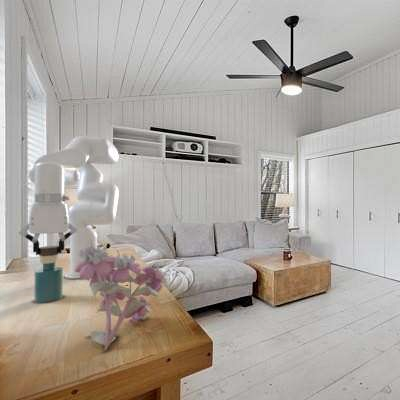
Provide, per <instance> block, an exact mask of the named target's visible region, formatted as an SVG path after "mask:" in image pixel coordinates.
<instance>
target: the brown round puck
mask: <svg viewBox="0 0 400 400" xmlns="http://www.w3.org/2000/svg"><path fill="white" fill-rule="evenodd" d="M56 254H58V255H59V254H60V253H59V245H47V246H39V255H38V256H39V257H40V256H47V255H56Z"/></svg>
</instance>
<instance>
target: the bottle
mask: <svg viewBox="0 0 400 400" xmlns="http://www.w3.org/2000/svg"><path fill="white" fill-rule="evenodd" d="M58 262H59V254H56V255H47V256H40V255H39V264H42V268H39V269H36V270H34V282H33V283H34V289H33V290H34V291H33V292H34V293H33V294H34V295H33V301H34V303H37V304H43V303H45V304H46V303H51V302H55V301H58V300H62V298H63V285H64V284H63V283H64V282H63V280H64V279H63V276H64V275H63V274H64V272H63V267H61V266H56V263H58Z"/></svg>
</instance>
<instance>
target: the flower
mask: <svg viewBox="0 0 400 400" xmlns="http://www.w3.org/2000/svg"><path fill="white" fill-rule="evenodd" d="M85 250H86V251H84V250H82V249H81V250H80V253H79V255H80V256H81V257H83V260H81V261H80V262H78V263H77V265H76V266H75V272H79V276H80V278H79V279H81V280H85V281H89V287H90V290H91V292H92V294H93V298H95V297H96V295H97V293H98V292H99V295H100V297H102V298H103V299H102V300H101V301H100V303H99V308H98V309H97V311H96V314H98V313H99V312H105V315H106V325H105V329H97V330H91V331H88V333H89V338H91V340H92V341H93V342H94V343H95V342H96V343H98V344H100V345H103V346H104V348H103V350H104V351H108V348H109V347H110V345H111V343H113V342H114V341H115V340H116V339H117V337H116V334H117V333H118V331H119V328H120V326H121V325H122V323H123V322H124V320H125V319H127V320H128V319H129V320H128V324H134V323H138V322H139V320H141V321H144V320H146V319H147V315H148V314H150V313H151V312H152V309H151V308H149V306H150V305H151V304H150V303H148V301H147V298H145V297H150V295H151V296H152V297H155V300H158V297H159V293H160V292H161V289H162V288H163V284H165V283H166V282H167V280H168V278H166V277H165V276H167V271H162V270H159V269H160V266H157V267H153V266H150V265H146V266H142V267H141V266H140V264H139V263H138V262H135V261H136V260H137V258H136V256H135V255H134V254H131V255H130V256H129V253H128V252H127V253H123V254H122V257H121V255H120V250H117V254H118V255H116V256H111V255H110V256H109V253H108V252H107V244H104V245H103V247H102V249H101V246H97V249H95V248H94V246H93V243H91V244H90V245H89V246H88V248H87V249H86V248H85ZM81 268H82V269H81ZM115 268H116V269H115ZM80 270H81V271H80ZM130 272H133V273H134V274H136V276H135V278H134V277H133V276H130ZM141 272H144V273H141ZM127 282H128V283H129V287H125V286H122V285H120V284H124V283H127ZM119 283H120V284H119ZM132 283H133V284H136V285H138V286H137V287H136V288H135V289H134V291H133V292H132ZM143 285H144V286H143ZM140 295H141V296H140ZM138 296H139V298H138V299H137V297H138ZM125 298H128V299H127V300H126V301H125V302H126V304H125V306H124V308H122V309H121V307H120V305H119V303H118V300H119V301H123V300H125ZM113 303H114V304H113ZM112 315H113V316H114V317H118V319H117V322H116V324H115V326H114V327H113V329H112Z"/></svg>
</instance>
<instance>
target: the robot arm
mask: <svg viewBox="0 0 400 400" xmlns="http://www.w3.org/2000/svg"><path fill="white" fill-rule="evenodd" d="M119 158H120V157H119V151H118V149H117V147H116V146H115V145H114V144H113V143H112V142H111V141H110V140H109V139H108V138H106V137H101V136H87V135H80V136H79V135H78V136H76V137H73V139H71V141H70V142H69V143H68V144H67V145H66V146H65V148H63V149H60V150H57V151H53V152H50V153H47V154H44V155H42V156H40V157H38V158H37V159H36V160H35V161H34V162H33V163H32V164H31V165H30V167H29V169H28V174H27V175H28V179H29V181H30V182H31V183H32V184H34V203H31V206H30V209H29V218H28V223H27V224H26V225H25V226H24V227H23V228H22V229H20V231H18V234H19V235H20V236H22V237H24V238H25V239H26V240H28V241H29V242H31V243H32V245H33V246H32V253H35V256H40V255H39V248H40V242H39V237H40V235H41V234H42V235H43V234H58V237H59V240H58V246H59V254H62V251H65V241H66V240H67V239H69V272H67V273H65V274H64V277H65V278H66V279H70V280H71V279H72V280H75V279H77V280H78V279H81V278H80V276H79V272H75V266H76V265H77V263H78V262H80V261H81V260H83V257H81V256H80V255H79V253H80V250H81V249H82V250H84V251H86V250H85V248H86V249H87V248H88V246H89V245H90V244H91V243H93V246H94V248H95V249H97V247H98V234H97V232H96V230H95V229H94V228H93V226H105V225H112V224H113V223H114V222H115V220H116V216H117V212H118V211H117V210H118V204H119V197H120V193H119V187H118V186H117V185H116V183H114V182H113V183H112V182H103V178H104V175H103V173H102V172H101V170H100V169H99V168H98V167H97V166H96V165H94V164H98V165H99V164H101V165H115V164H116V163H117V162H118V161H119ZM77 184H78V185H77ZM76 185H77V189H76V199H77V200H78V201H79V202H80V203H74V204H72V205H71V206H70V207H68V205H67V203H65V202H67V201H70V196H68V195H65V187H70V186H76ZM68 230H69V231H68ZM27 231H29V233H30V234H29V233H28V232H27ZM64 233H65V234H64ZM31 234H32V235H31ZM33 234H34V235H33ZM81 269H82V268H81ZM80 271H81V270H80Z"/></svg>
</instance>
